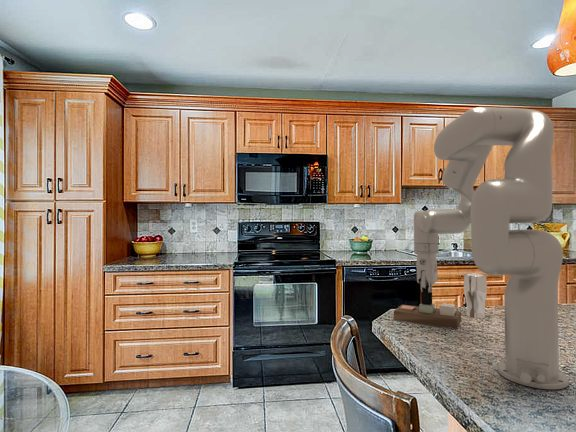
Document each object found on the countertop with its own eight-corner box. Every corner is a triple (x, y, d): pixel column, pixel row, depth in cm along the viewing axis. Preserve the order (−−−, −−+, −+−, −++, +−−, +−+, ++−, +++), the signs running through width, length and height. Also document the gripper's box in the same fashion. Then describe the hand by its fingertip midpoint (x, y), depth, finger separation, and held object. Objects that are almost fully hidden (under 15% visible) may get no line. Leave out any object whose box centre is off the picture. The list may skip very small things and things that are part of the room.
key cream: (453, 317, 110) (453, 307, 110) (439, 315, 112) (439, 305, 112) (455, 314, 113) (455, 304, 113) (441, 313, 116) (441, 303, 116)
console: (457, 332, 107) (457, 318, 107) (393, 322, 117) (393, 310, 117) (461, 323, 115) (461, 311, 115) (401, 315, 125) (401, 304, 125)
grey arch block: (488, 317, 122) (487, 274, 122) (486, 322, 116) (486, 277, 116) (465, 315, 126) (464, 272, 126) (463, 319, 120) (462, 275, 120)
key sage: (432, 316, 113) (432, 306, 113) (419, 314, 115) (419, 304, 115) (434, 313, 117) (434, 303, 117) (422, 311, 119) (421, 302, 119)
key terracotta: (412, 319, 117) (412, 309, 117) (400, 317, 119) (400, 307, 119) (415, 316, 120) (415, 306, 120) (403, 314, 122) (403, 305, 122)
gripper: (434, 250, 108) (434, 310, 108) (442, 247, 121) (442, 300, 121) (408, 249, 112) (409, 307, 112) (419, 246, 125) (419, 298, 125)
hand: (426, 304), depth 116 cm, fingers closed
